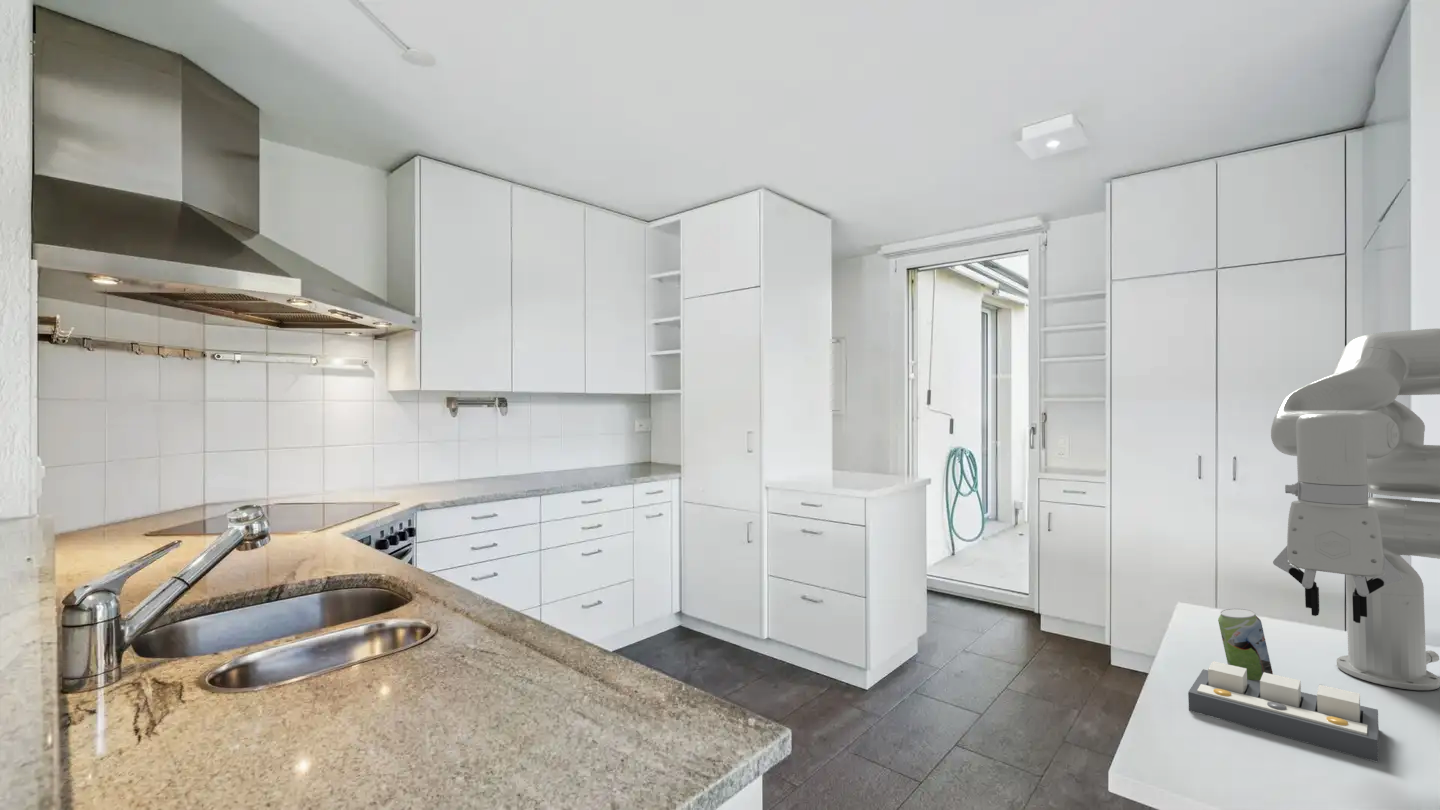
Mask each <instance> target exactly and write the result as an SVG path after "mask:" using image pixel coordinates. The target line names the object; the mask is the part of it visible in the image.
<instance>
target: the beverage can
mask: <svg viewBox="0 0 1440 810" xmlns="http://www.w3.org/2000/svg"><path fill="white" fill-rule="evenodd" d="M1217 621H1218V626H1219V630H1220V634H1221V640H1222V644H1223V648H1224V653H1225V657H1226V662H1227V663H1226V664H1228V665H1233V666H1237V667H1242V668H1247V679H1248V680H1252V681H1256V682H1260V680H1261V677H1262V675H1263V672H1265V673H1269V674H1274V673H1273V668H1272V664H1271V659H1270V655H1269V651H1268V646H1267V642H1266V638H1265V632H1264V628H1263V623H1262V621H1261V619H1260V618H1259V617H1258V616H1257V615H1256V613H1255V612H1254V611H1252V610H1250V609H1245V608H1244V609H1243V608H1228V609H1223V610H1221V611H1220V615H1219V616H1218V620H1217Z"/></svg>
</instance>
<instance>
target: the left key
mask: <svg viewBox="0 0 1440 810" xmlns="http://www.w3.org/2000/svg"><path fill="white" fill-rule="evenodd" d="M1207 670H1208V682H1209V686H1213V687H1217V688H1221V689H1225V690H1229V691H1233V692H1237V693H1242V694H1244V693H1245V691H1246V689H1247V668H1242V667H1237V666H1233V665H1228V663H1223V662H1219V661H1214V660H1213V661H1212V662H1211V663H1210V665H1209V667H1208V669H1207Z"/></svg>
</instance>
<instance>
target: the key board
mask: <svg viewBox="0 0 1440 810" xmlns="http://www.w3.org/2000/svg"><path fill="white" fill-rule="evenodd" d="M1187 694H1188V695H1187V696H1188V711H1189V712H1194V713H1197V714H1201V715H1204V716H1208V717H1212V718H1215V719H1219V720H1222V721H1224V722H1225V721H1226V722H1229V723H1233V724H1237V725H1240V726H1244V727H1248V728H1251V729H1255V730H1258V731H1263V732H1266V733H1270V734H1274V735H1276V736H1280V737H1285V738H1289V739H1292V740H1294V741H1299V742H1303V743H1306V744H1308V745H1313V746H1317V747H1321V748H1325V749H1329V750H1331V751H1336V752H1339V753H1342V754H1347V755H1350V756H1354V757H1358V758H1361V759H1364V760H1368V761H1372V762H1375V763H1376V762H1377V763H1379V736H1380V735H1379V731H1380V729H1379V709H1377V708H1373V707H1368V706H1364V705H1360V722H1356V721H1352V720H1348V719H1344V718H1339V717H1335V716H1331V715H1327V714H1323V713H1319V712H1318V710H1317V694H1312V693H1308V692H1303V691H1301V702H1300V706H1299V707H1295V706H1291V705H1286V704H1282V703H1278V702H1274V701H1270V700H1266V699H1262V698H1260V682H1256V681H1252V680H1248V679H1247V689H1246V691H1245V693H1244V694H1242V693H1237V692H1233V691H1229V690H1225V689H1221V688H1217V687H1213V686H1209V682H1208V669H1204V668H1203V669H1202V670H1201V672H1199V675H1198V676H1197V677H1196V679H1195V681H1193V684H1192V685H1191V686H1190V689H1189V690H1188V693H1187Z"/></svg>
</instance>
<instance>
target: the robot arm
mask: <svg viewBox="0 0 1440 810" xmlns="http://www.w3.org/2000/svg"><path fill="white" fill-rule="evenodd" d="M1425 395H1426V396H1429V395H1430V396H1433V395H1440V328H1420V329H1411V330H1410V329H1409V330H1399V331H1398V330H1396V331H1385V332H1374V333H1367V334H1365V335H1360V336H1358V337H1356V338H1354V339H1352V340H1350V341H1349V342H1348V343H1347V344H1346V345H1345V346H1344V348H1343V350H1342V352H1341V354H1340V356H1339V358H1338V361H1337V363H1336V365H1335V367H1334V369H1333V371H1332V373H1331V375H1328V376H1325V377H1323V378H1321V379H1318V380H1316V381H1314V382H1311V383H1308V384H1305V385H1304V386H1302V387H1300V388H1297V389H1296V390H1294V391H1292V392H1290V393H1289V394H1288V395H1287V396H1285V398H1284V399H1283V400H1282V402H1281V404H1280V406H1279V407H1278V409H1277V411H1276V413H1275V415H1274V418H1273V420H1272V424H1271V427H1270V437H1271V442H1272V445H1273V446H1274V448H1275V449H1276V450H1278V452H1280V453H1282V454H1284V455H1287V456H1293V457H1296V464H1297V466H1296V467H1297V482H1295V483H1294V484H1293V483H1292V484H1285V487H1284V489H1285V490H1284V491H1285V494H1291V495H1293V496H1294V495H1295V496H1294V497H1297V500H1293V501H1291V502H1290V503H1291V504H1290V507H1289V511H1288V512H1289V513H1288V518H1287V519H1288V520H1287V522H1288V523H1287V536H1286V539H1287V542H1286V544H1287V545H1286V546H1285V547H1284V548H1283V550H1282V551H1280V553H1278V555H1277V556H1275V558H1274V559H1273V561H1272V564H1273V565H1274V566H1276V567H1277V568H1279V569H1281V570H1282V571H1284V572H1285V573H1287V574H1289V575H1290V576H1291V577H1292V578H1293V579H1295V580H1296V581H1297V582H1298V583H1300V584H1301V586H1302V587H1303V588H1304V600H1305V601H1304V602H1305V608H1307V609H1311V610H1310V611H1311V616H1313V617H1317V616H1319V614H1320V588H1319V586H1318V585H1317V582H1316V581H1315V579H1316V573H1317V572H1323V573H1324V572H1325V573H1333V574H1338V575H1339V574H1341V575H1345V595H1346V596H1345V597H1346V599H1345V600H1346V622H1347V624H1346V625H1347V628H1346V629H1347V655H1342V656H1339V657H1337V658H1336V666H1337V668H1338V669H1339V670H1341V671H1342V672H1344V673H1345V674H1347V675H1350V676H1352V677H1354V678H1357V679H1360V680H1363V681H1366V682H1369V683H1373V684H1376V685H1381V686H1386V687H1391V688H1397V689H1401V690H1410V691H1411V690H1412V691H1434V690H1436V689H1439V688H1440V678H1439V677H1438V676H1437V675H1436V674H1434V673H1433V672H1431V671H1428V670H1427V665H1428V664H1430V663H1435V662H1438V661H1439V660H1440V656H1439V654H1438V653H1437V652H1436V651H1434V650H1427V649H1426V629H1425V628H1426V621H1425V620H1426V619H1425V615H1426V614H1425V593H1424V592H1425V587H1424V586H1425V585H1424V582H1423V578H1421V576H1420V574H1419V573H1418V571H1416V570H1415V568H1414V567H1413V566H1412V565H1410V563H1409V562H1407V560H1405V559H1404V558H1403V556H1408V557H1410V556H1414V557H1422V558H1431V559H1438V560H1440V502H1439V501H1440V444H1425V432H1426V431H1425V430H1426V426H1425V423H1424V421H1423V420H1422V418H1421V417H1420V416H1419V415H1417V414H1416V412H1414V411H1413V410H1412V409H1410V408H1409V407H1408V406H1406V405H1405V404H1403V403H1401V402H1400V401H1398V400H1396V399H1397V396H1425ZM1369 494H1373V495H1380V496H1386V498H1385V497H1371V496H1370V497H1369ZM1387 497H1397V498H1387ZM1399 497H1400V498H1401V497H1402V498H1403V499H1402V498H1401V499H1400V498H1399ZM1398 498H1399V499H1398ZM1404 498H1411V499H1404ZM1413 498H1415V499H1427V500H1428V499H1429V500H1439V501H1437V502H1436V501H1435V502H1434V501H1426V500H1425V501H1423V500H1421V501H1420V500H1412V499H1413ZM1301 569H1303V570H1304V571H1303V570H1301Z"/></svg>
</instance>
